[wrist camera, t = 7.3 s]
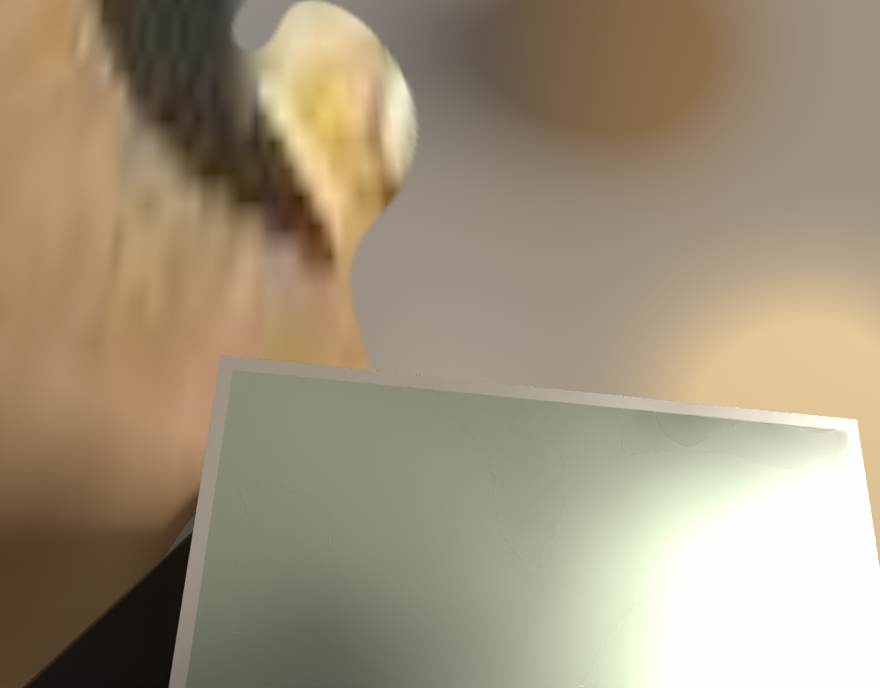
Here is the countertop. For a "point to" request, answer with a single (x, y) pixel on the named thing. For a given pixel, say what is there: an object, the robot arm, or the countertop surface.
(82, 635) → the robot arm
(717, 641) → the sage tea tin
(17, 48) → the countertop surface
